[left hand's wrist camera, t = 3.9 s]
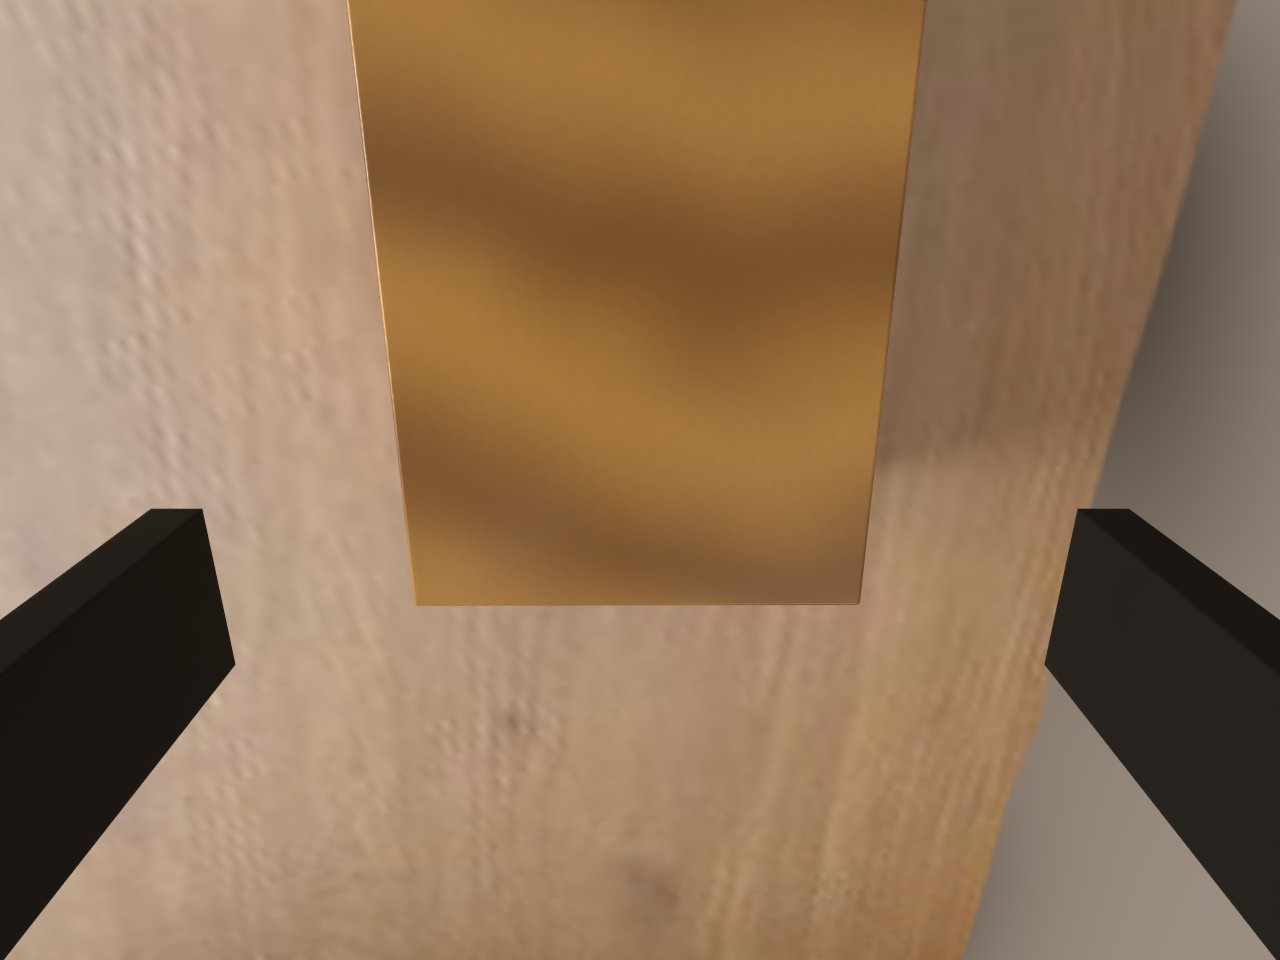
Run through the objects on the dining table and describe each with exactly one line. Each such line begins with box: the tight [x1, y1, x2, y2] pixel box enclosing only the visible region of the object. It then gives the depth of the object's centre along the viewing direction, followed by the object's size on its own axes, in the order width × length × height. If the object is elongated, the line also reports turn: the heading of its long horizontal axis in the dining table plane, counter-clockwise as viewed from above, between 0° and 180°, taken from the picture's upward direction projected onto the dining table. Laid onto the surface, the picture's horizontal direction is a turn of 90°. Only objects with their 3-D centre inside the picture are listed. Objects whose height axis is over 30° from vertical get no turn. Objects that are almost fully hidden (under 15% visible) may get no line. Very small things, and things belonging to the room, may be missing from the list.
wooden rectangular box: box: [346, 0, 927, 606], centre depth 21 cm, size 19×11×9 cm, turn 0°
